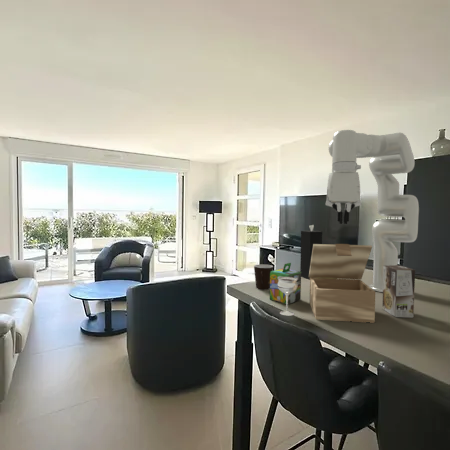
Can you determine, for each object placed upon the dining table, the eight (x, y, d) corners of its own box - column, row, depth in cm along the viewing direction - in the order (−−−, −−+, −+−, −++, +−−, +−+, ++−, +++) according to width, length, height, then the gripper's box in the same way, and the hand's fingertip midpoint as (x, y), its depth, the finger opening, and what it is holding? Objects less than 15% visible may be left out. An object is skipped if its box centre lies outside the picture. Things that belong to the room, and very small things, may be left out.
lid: (309, 286, 112) (308, 275, 116) (363, 288, 109) (360, 277, 113) (314, 254, 100) (313, 242, 104) (375, 255, 97) (371, 244, 101)
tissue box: (299, 276, 164) (300, 224, 162) (311, 275, 167) (312, 224, 165) (309, 279, 156) (310, 225, 155) (321, 278, 159) (322, 225, 158)
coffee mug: (260, 284, 145) (260, 263, 145) (276, 287, 140) (276, 266, 139) (246, 289, 136) (246, 267, 136) (262, 292, 131) (262, 269, 130)
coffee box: (414, 317, 101) (416, 269, 100) (394, 317, 101) (396, 269, 100) (399, 309, 110) (400, 264, 109) (381, 308, 110) (382, 264, 110)
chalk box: (282, 295, 127) (282, 260, 126) (301, 300, 120) (302, 263, 120) (268, 299, 120) (269, 262, 120) (288, 305, 114) (289, 265, 113)
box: (309, 303, 116) (310, 277, 115) (359, 306, 113) (360, 279, 112) (315, 319, 99) (316, 289, 98) (374, 322, 96) (375, 291, 96)
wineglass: (284, 317, 100) (284, 281, 100) (273, 311, 106) (273, 277, 106) (301, 315, 103) (301, 279, 102) (289, 309, 109) (289, 275, 109)
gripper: (364, 170, 104) (363, 223, 105) (318, 170, 106) (317, 223, 107) (371, 166, 97) (370, 224, 97) (322, 167, 99) (320, 223, 100)
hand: (342, 223), depth 102 cm, fingers closed
